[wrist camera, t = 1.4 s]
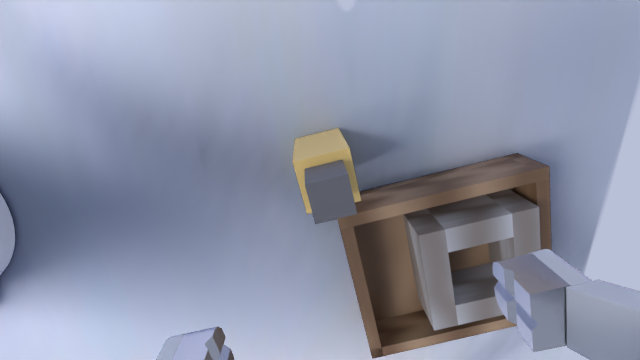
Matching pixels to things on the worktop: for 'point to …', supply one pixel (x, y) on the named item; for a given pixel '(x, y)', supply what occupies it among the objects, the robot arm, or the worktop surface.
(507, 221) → the walled box
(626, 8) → the worktop surface
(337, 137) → the connector
